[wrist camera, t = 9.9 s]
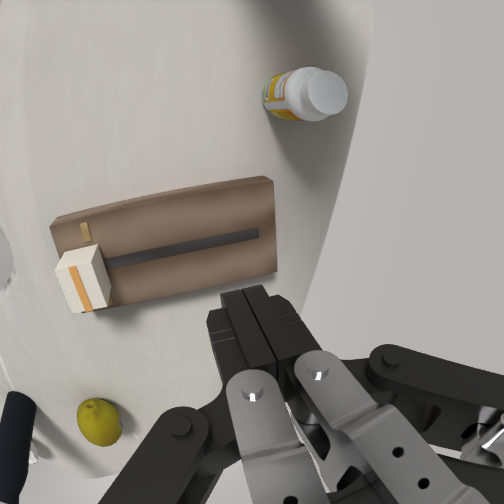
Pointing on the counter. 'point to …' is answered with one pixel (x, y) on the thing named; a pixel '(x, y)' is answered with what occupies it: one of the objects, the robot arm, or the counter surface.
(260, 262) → the brown flat piece
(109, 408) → the lemon
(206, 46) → the counter surface
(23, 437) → the black water bottle
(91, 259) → the block
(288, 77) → the supplement bottle
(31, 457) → the cell model
